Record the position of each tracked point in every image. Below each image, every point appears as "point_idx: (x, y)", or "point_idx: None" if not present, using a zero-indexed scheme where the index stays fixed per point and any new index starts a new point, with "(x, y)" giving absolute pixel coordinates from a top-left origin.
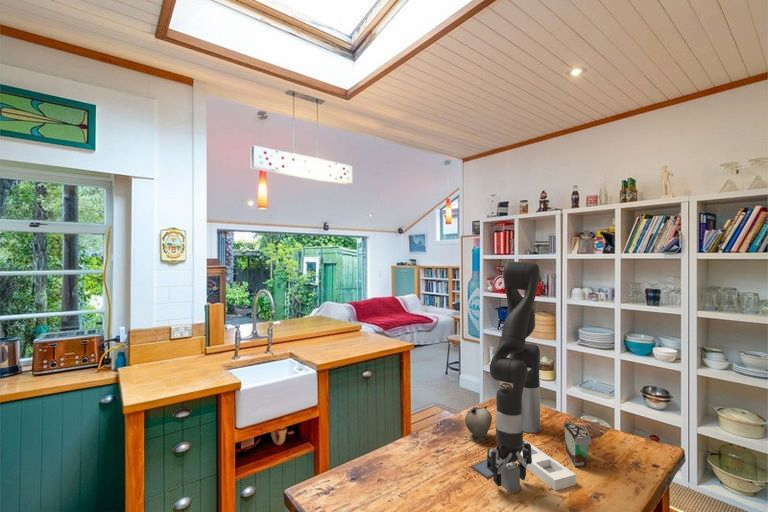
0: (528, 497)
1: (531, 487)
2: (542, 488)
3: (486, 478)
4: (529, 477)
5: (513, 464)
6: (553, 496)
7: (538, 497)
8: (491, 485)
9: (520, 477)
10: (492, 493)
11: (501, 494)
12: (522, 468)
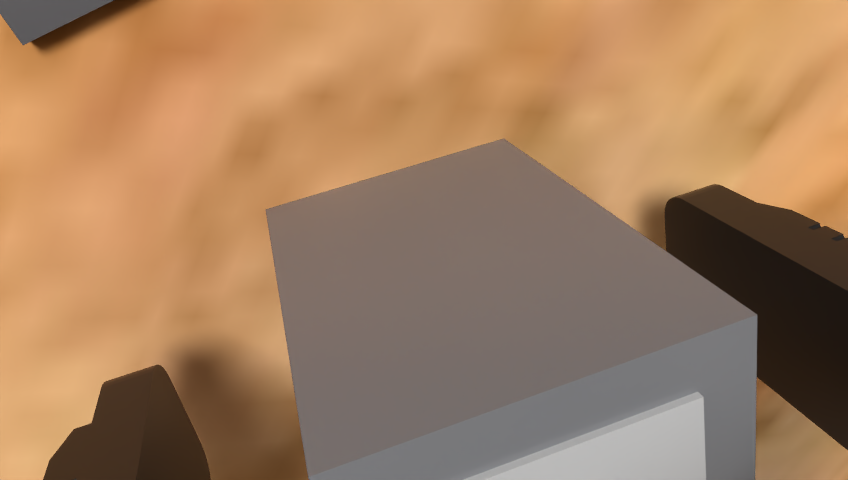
0: None
1: None
2: None
3: (15, 15)
4: (841, 67)
5: (721, 475)
6: (820, 437)
7: None
8: (76, 250)
9: (677, 255)
10: (37, 446)
11: None
12: (834, 416)
